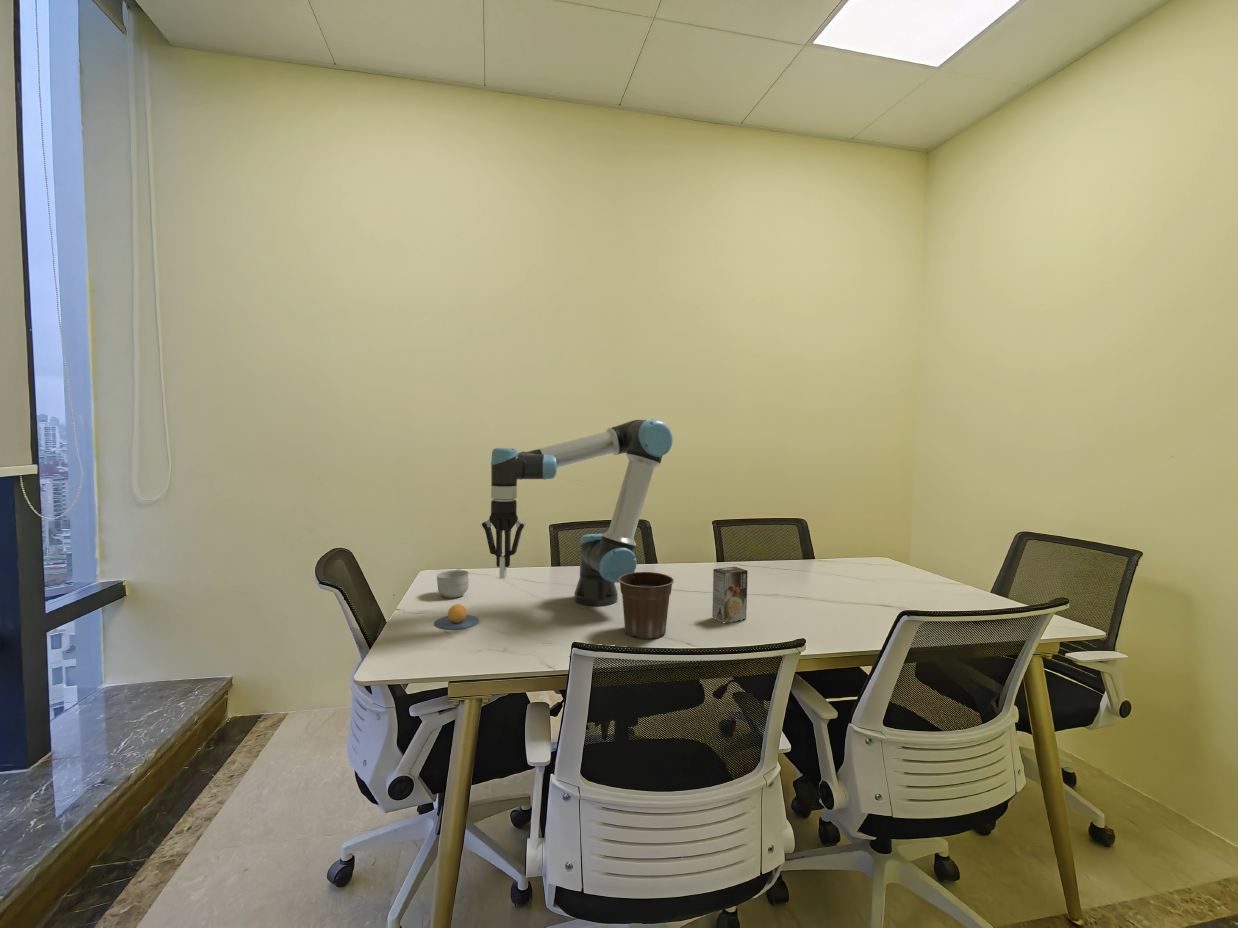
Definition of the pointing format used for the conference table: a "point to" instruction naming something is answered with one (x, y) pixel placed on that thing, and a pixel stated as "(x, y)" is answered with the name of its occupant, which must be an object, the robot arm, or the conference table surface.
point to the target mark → (449, 625)
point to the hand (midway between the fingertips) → (503, 577)
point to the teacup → (453, 583)
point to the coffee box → (729, 594)
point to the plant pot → (645, 603)
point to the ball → (457, 613)
